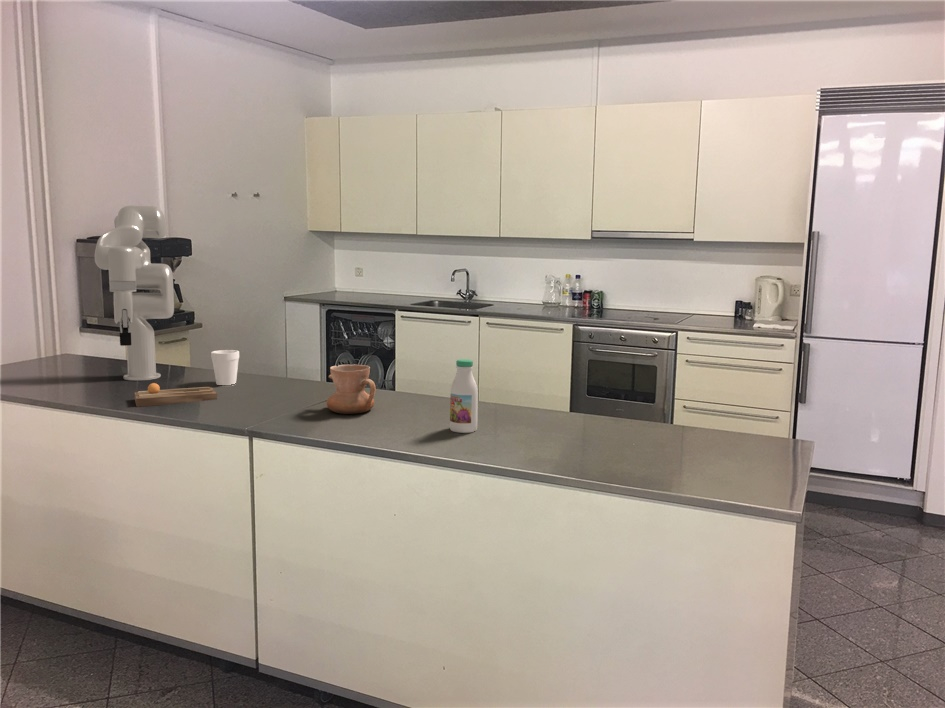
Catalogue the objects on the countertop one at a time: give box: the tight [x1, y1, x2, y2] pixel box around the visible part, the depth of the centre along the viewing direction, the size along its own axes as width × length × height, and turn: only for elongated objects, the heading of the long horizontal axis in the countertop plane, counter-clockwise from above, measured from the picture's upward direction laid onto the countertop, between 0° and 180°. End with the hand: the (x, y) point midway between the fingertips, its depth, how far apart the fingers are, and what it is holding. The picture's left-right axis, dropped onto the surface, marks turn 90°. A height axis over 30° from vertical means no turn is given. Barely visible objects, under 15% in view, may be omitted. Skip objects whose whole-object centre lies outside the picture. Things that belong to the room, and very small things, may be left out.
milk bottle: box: [449, 358, 479, 434], centre depth 203 cm, size 8×8×20 cm
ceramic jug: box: [326, 364, 376, 415], centre depth 223 cm, size 18×14×14 cm
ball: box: [147, 382, 161, 394], centre depth 234 cm, size 4×4×4 cm
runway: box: [134, 386, 218, 408], centre depth 237 cm, size 12×24×3 cm, turn 117°
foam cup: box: [210, 349, 240, 386], centre depth 260 cm, size 10×9×13 cm
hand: (125, 345), depth 229 cm, fingers closed
